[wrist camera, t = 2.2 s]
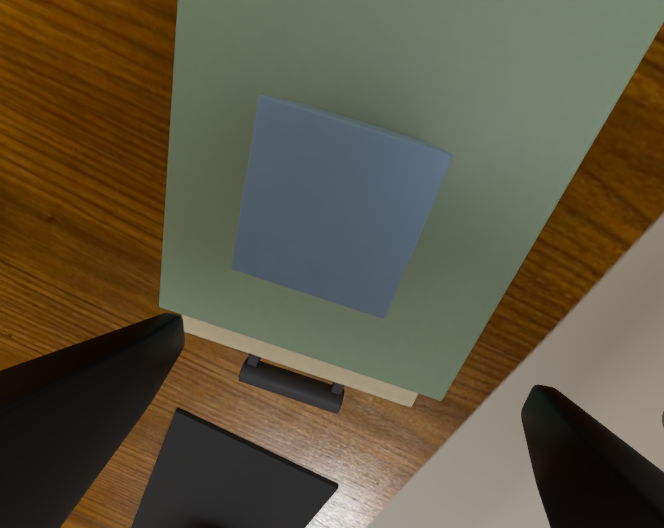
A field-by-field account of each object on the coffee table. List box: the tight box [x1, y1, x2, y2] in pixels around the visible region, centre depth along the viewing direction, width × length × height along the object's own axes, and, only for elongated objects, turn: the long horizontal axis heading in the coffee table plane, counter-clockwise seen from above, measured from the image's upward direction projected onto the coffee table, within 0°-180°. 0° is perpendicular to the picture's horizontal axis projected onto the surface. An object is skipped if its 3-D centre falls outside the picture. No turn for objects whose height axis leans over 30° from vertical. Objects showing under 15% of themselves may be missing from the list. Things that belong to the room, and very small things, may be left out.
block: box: [231, 95, 453, 319], centre depth 9 cm, size 4×4×4 cm
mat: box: [132, 408, 338, 528], centre depth 34 cm, size 16×24×1 cm, turn 154°
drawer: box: [182, 315, 418, 414], centre depth 17 cm, size 18×11×7 cm, turn 164°
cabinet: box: [159, 0, 664, 401], centre depth 15 cm, size 15×13×9 cm
